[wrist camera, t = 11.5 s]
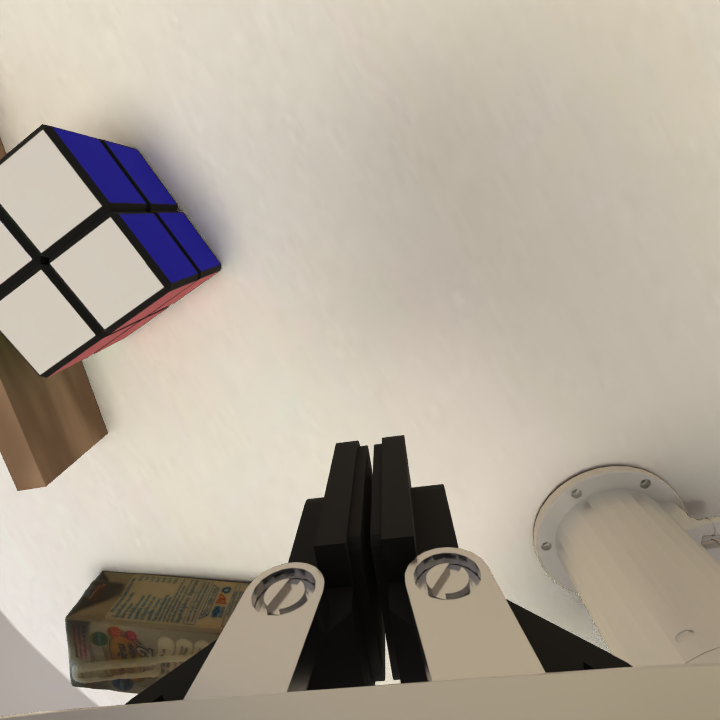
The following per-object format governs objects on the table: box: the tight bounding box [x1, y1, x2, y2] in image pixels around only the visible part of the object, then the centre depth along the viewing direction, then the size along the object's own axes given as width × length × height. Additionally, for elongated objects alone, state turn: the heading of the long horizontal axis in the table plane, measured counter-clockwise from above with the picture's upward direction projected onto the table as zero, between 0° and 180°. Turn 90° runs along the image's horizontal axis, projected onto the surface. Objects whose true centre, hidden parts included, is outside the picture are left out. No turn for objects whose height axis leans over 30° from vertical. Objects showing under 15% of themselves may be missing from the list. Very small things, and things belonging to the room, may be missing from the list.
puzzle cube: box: [0, 124, 221, 378], centre depth 30 cm, size 10×10×10 cm
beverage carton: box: [65, 571, 251, 694], centre depth 42 cm, size 8×19×7 cm, turn 85°
